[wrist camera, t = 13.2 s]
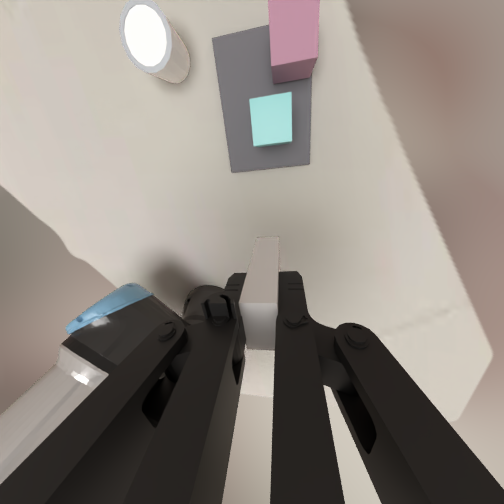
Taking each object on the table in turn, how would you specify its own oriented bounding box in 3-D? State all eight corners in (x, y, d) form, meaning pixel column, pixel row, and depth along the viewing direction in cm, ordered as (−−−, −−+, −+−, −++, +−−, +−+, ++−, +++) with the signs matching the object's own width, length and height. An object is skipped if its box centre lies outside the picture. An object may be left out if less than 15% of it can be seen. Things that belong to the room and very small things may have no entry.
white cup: (182, 98, 32) (158, 86, 26) (145, 67, 31) (112, 46, 25) (201, 52, 29) (180, 25, 23) (162, 16, 28) (128, -23, 22)
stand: (232, 172, 36) (220, 177, 29) (214, 41, 28) (189, 1, 21) (308, 163, 34) (316, 167, 26) (312, 19, 26) (325, -36, 18)
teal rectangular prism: (258, 147, 32) (253, 146, 26) (255, 109, 30) (249, 99, 24) (289, 143, 31) (292, 141, 25) (289, 103, 29) (291, 91, 23)
